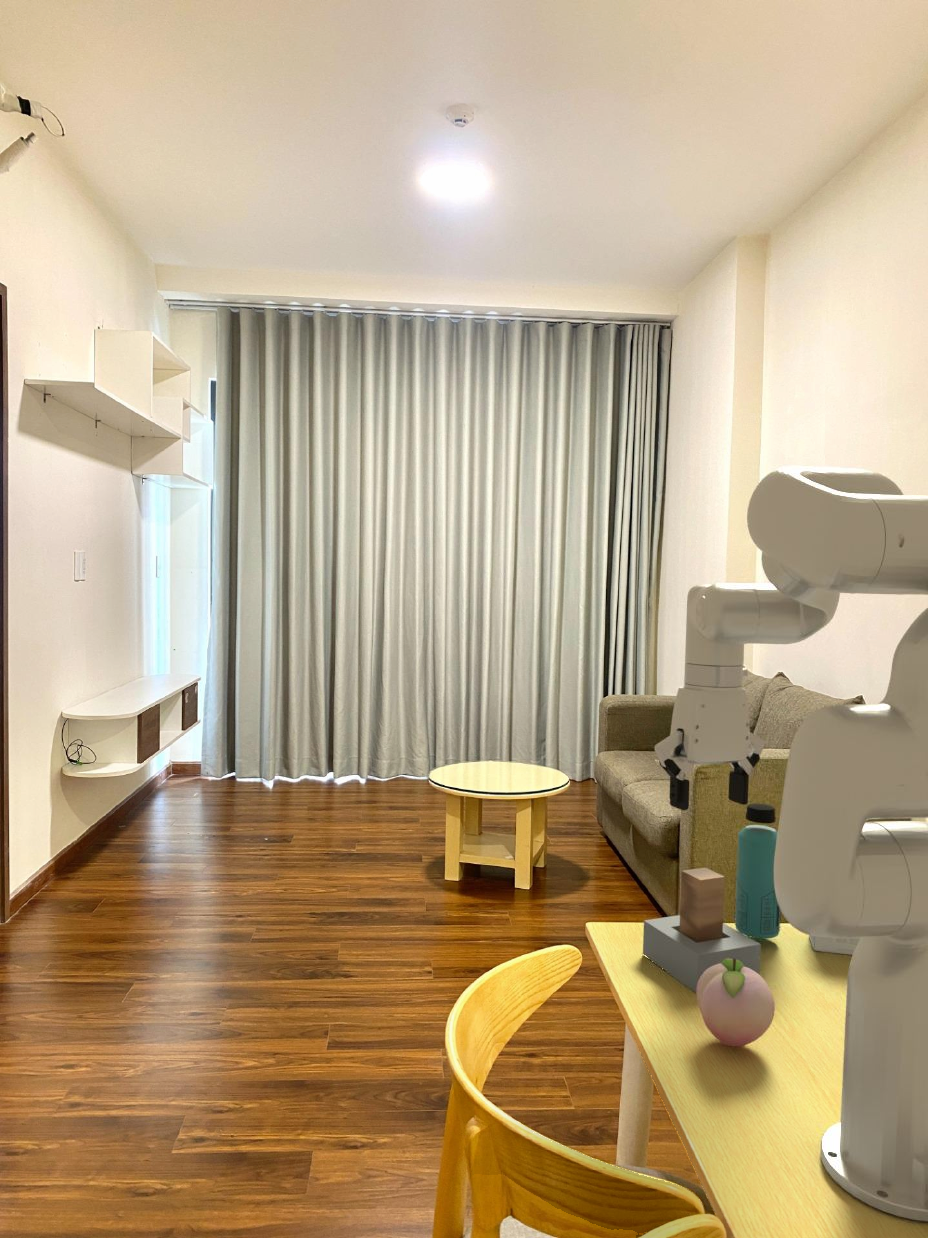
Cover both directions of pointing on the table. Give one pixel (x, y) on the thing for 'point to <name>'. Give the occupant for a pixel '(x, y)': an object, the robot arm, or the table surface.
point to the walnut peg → (702, 904)
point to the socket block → (695, 950)
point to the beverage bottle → (757, 876)
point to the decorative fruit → (735, 1002)
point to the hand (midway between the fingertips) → (708, 805)
